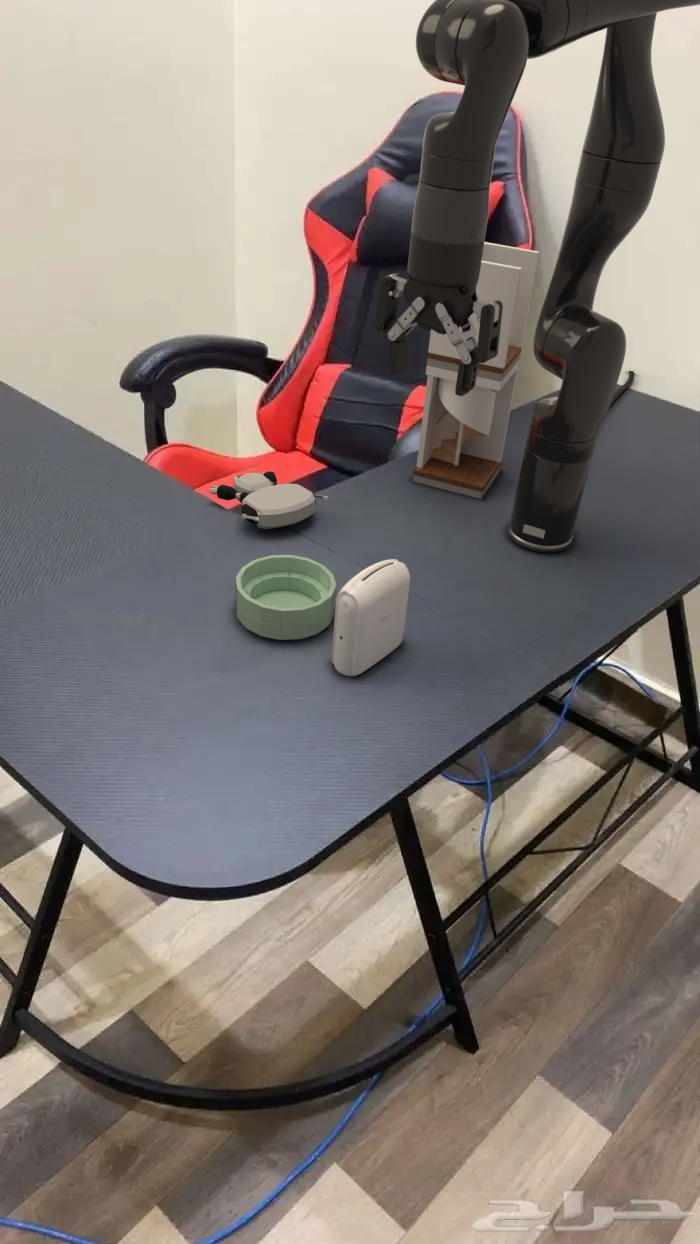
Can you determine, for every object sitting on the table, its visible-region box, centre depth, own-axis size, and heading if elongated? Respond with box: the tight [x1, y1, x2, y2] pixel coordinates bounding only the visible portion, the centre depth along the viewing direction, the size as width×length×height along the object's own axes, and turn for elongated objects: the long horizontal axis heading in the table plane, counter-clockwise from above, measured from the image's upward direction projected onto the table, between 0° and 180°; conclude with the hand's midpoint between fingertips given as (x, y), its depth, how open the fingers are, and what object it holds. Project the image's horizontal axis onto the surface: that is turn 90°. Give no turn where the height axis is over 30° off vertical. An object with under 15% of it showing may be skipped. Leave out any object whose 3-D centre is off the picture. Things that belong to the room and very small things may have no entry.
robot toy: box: [208, 470, 329, 530], centre depth 139 cm, size 12×4×15 cm
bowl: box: [235, 554, 337, 641], centre depth 118 cm, size 12×12×5 cm
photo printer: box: [331, 558, 411, 677], centre depth 111 cm, size 10×4×12 cm, turn 140°
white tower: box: [412, 241, 540, 500], centre depth 143 cm, size 11×11×35 cm
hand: (429, 382), depth 106 cm, fingers open, 8 cm apart
